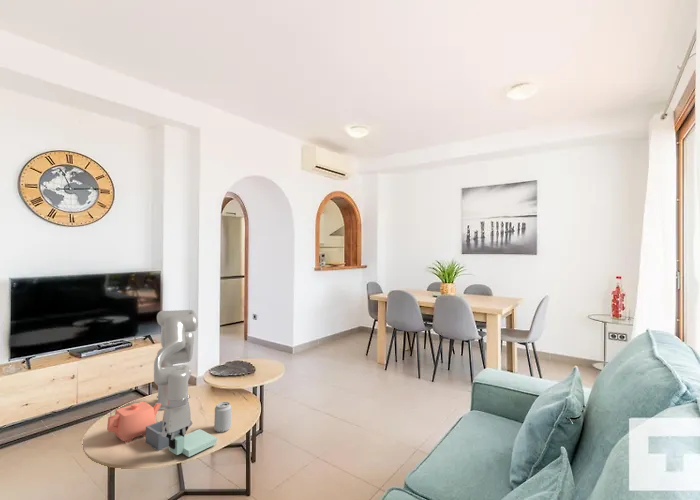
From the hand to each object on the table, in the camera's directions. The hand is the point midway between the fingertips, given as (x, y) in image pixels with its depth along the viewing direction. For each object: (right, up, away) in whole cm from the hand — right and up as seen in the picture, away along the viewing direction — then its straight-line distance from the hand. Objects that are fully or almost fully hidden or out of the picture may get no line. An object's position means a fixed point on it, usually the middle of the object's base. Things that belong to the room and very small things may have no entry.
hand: (176, 445), depth 147 cm
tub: (-11, -4, +11) cm, 16 cm away
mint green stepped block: (+4, -3, +5) cm, 7 cm away
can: (+11, -5, +23) cm, 26 cm away
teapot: (-27, -4, +16) cm, 31 cm away
